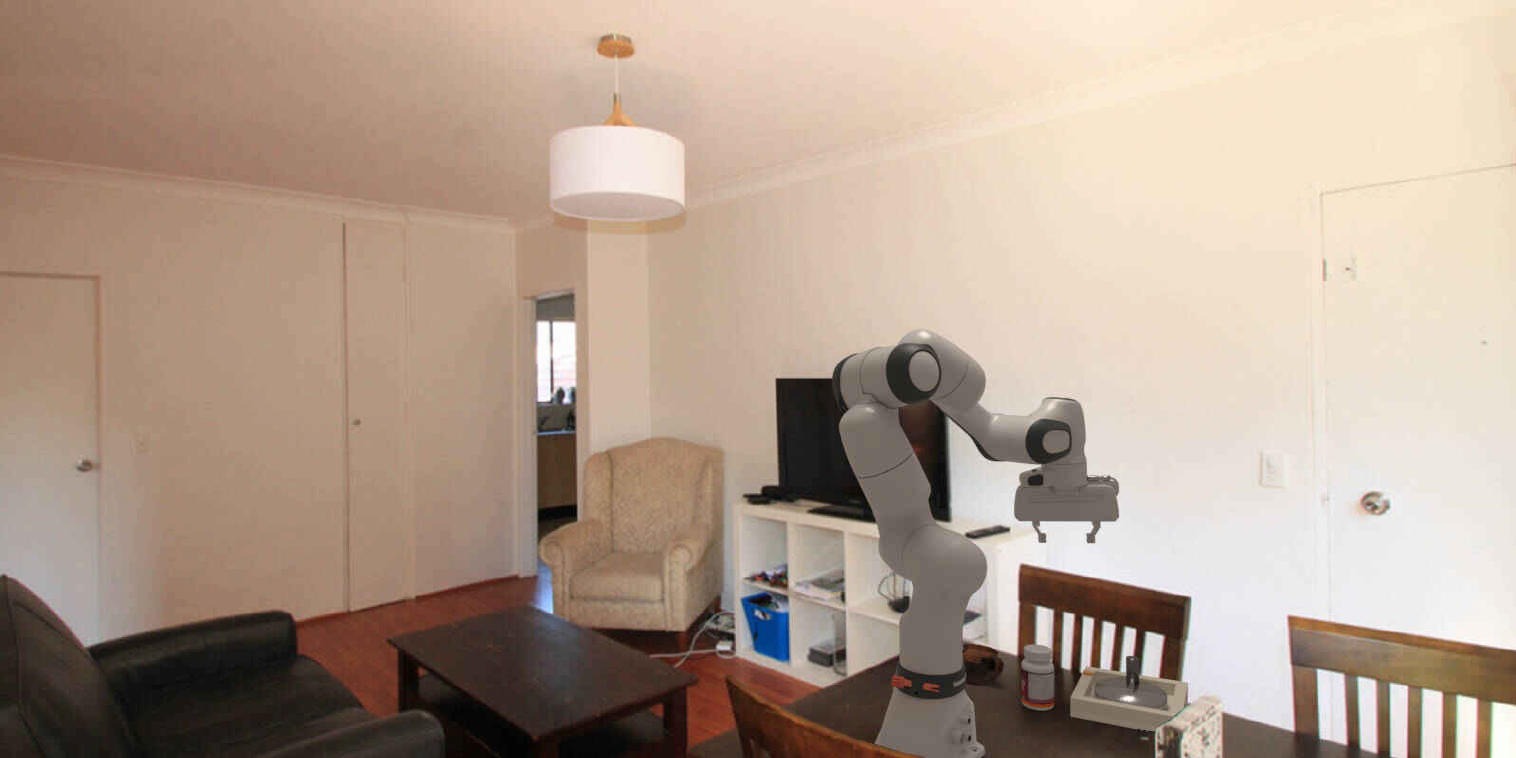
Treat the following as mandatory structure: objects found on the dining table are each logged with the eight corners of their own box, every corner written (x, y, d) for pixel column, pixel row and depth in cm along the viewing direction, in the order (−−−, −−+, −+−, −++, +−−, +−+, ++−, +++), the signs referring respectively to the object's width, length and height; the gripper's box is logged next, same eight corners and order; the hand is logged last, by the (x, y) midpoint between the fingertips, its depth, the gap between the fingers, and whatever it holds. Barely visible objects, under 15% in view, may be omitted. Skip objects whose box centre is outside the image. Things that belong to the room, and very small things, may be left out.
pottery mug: (945, 679, 178) (951, 641, 181) (976, 691, 181) (981, 654, 185) (987, 682, 168) (992, 641, 172) (1019, 694, 172) (1023, 655, 175)
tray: (1182, 737, 147) (1181, 715, 147) (1070, 716, 157) (1070, 695, 157) (1187, 700, 164) (1187, 680, 163) (1086, 683, 173) (1086, 663, 173)
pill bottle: (1021, 697, 166) (1021, 642, 166) (1054, 701, 164) (1053, 644, 164) (1021, 709, 160) (1020, 652, 160) (1054, 713, 158) (1054, 655, 158)
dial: (1164, 719, 151) (1164, 682, 151) (1089, 706, 158) (1089, 669, 158) (1169, 695, 162) (1169, 660, 162) (1099, 683, 169) (1099, 649, 169)
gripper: (1115, 472, 169) (1117, 539, 169) (1011, 473, 174) (1014, 538, 174) (1121, 477, 163) (1123, 546, 163) (1013, 478, 168) (1016, 545, 168)
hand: (1066, 542), depth 169 cm, fingers open, 8 cm apart
